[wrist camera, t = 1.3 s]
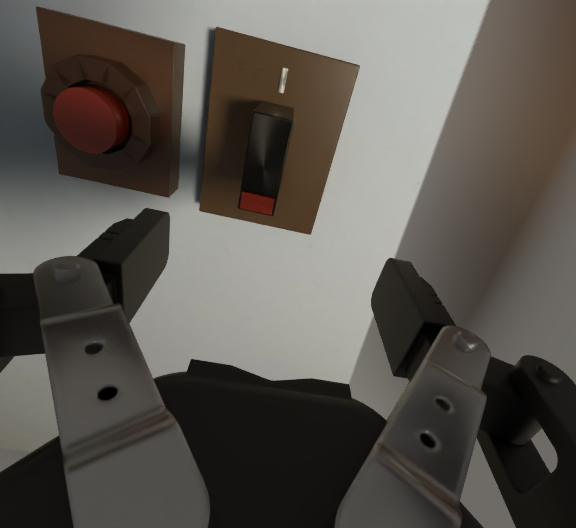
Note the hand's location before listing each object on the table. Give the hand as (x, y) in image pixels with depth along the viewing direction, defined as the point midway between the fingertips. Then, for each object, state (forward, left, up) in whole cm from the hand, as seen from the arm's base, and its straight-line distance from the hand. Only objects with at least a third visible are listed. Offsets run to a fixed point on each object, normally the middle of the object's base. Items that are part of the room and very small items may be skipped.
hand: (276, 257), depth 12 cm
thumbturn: (0, -1, -13) cm, 14 cm away
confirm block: (+4, -11, -16) cm, 20 cm away
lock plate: (0, -1, -16) cm, 16 cm away
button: (+4, -12, -12) cm, 17 cm away
